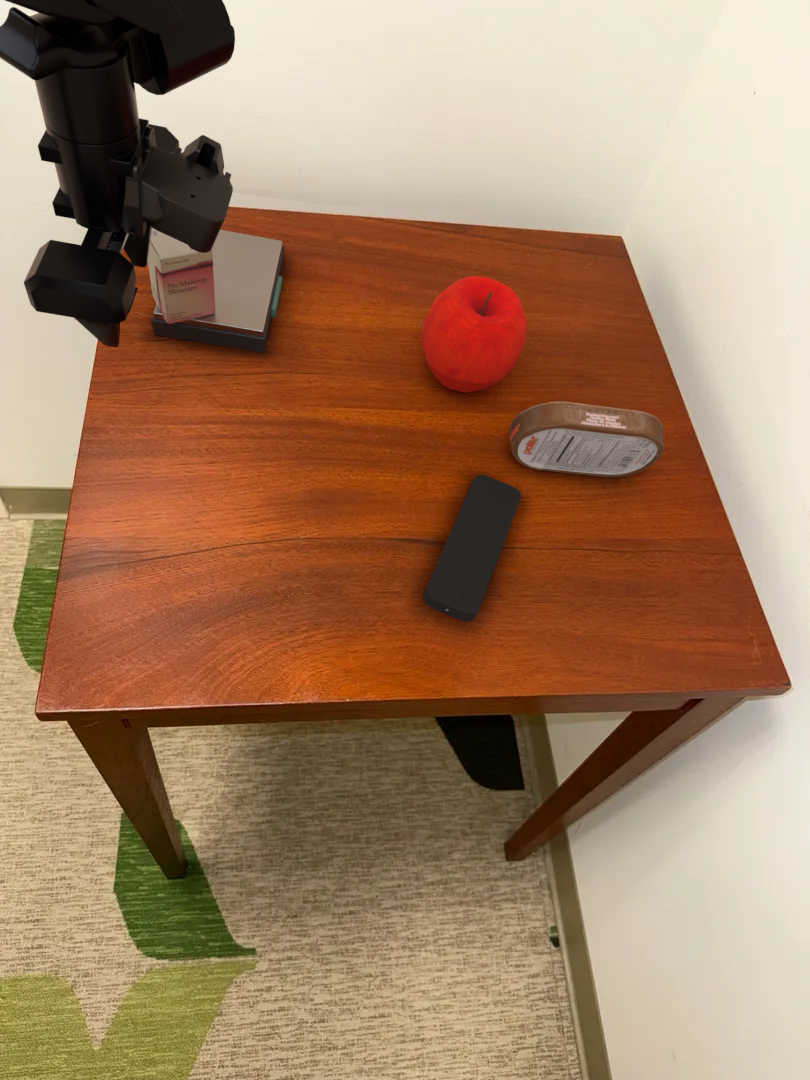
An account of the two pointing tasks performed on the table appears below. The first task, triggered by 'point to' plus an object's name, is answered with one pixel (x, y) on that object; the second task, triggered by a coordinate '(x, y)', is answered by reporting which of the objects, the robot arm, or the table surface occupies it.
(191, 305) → the small box
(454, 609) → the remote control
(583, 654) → the table surface
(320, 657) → the table surface
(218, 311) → the scale
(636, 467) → the tin
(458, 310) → the apple
